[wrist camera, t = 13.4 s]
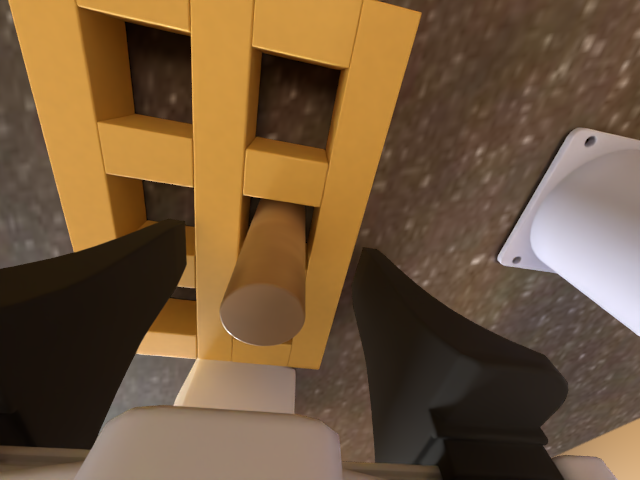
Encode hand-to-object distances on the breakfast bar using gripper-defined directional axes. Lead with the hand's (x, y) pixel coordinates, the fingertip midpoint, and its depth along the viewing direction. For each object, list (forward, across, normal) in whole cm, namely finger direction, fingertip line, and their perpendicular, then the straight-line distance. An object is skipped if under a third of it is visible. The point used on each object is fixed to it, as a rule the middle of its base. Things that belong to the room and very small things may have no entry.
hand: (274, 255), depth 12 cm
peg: (+4, 0, 0) cm, 4 cm away
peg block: (+4, +3, 0) cm, 5 cm away
